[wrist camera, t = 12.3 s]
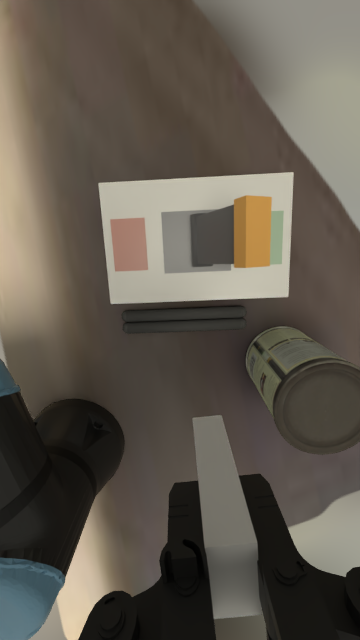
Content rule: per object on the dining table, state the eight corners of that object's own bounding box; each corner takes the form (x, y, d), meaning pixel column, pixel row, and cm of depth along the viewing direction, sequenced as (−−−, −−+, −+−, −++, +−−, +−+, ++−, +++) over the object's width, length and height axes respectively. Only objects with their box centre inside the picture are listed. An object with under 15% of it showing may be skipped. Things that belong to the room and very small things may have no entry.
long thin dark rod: (124, 332, 40) (122, 334, 39) (122, 310, 40) (119, 312, 38) (245, 327, 40) (247, 330, 38) (245, 305, 39) (247, 307, 38)
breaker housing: (120, 298, 39) (110, 304, 34) (110, 193, 36) (97, 182, 31) (275, 291, 39) (288, 297, 34) (278, 184, 36) (294, 171, 30)
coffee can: (324, 375, 41) (393, 434, 27) (259, 400, 42) (293, 468, 29) (302, 314, 39) (364, 344, 25) (234, 341, 40) (259, 384, 27)
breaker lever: (187, 266, 32) (245, 267, 23) (185, 216, 31) (246, 195, 22) (207, 265, 33) (269, 266, 24) (205, 216, 32) (271, 196, 23)
